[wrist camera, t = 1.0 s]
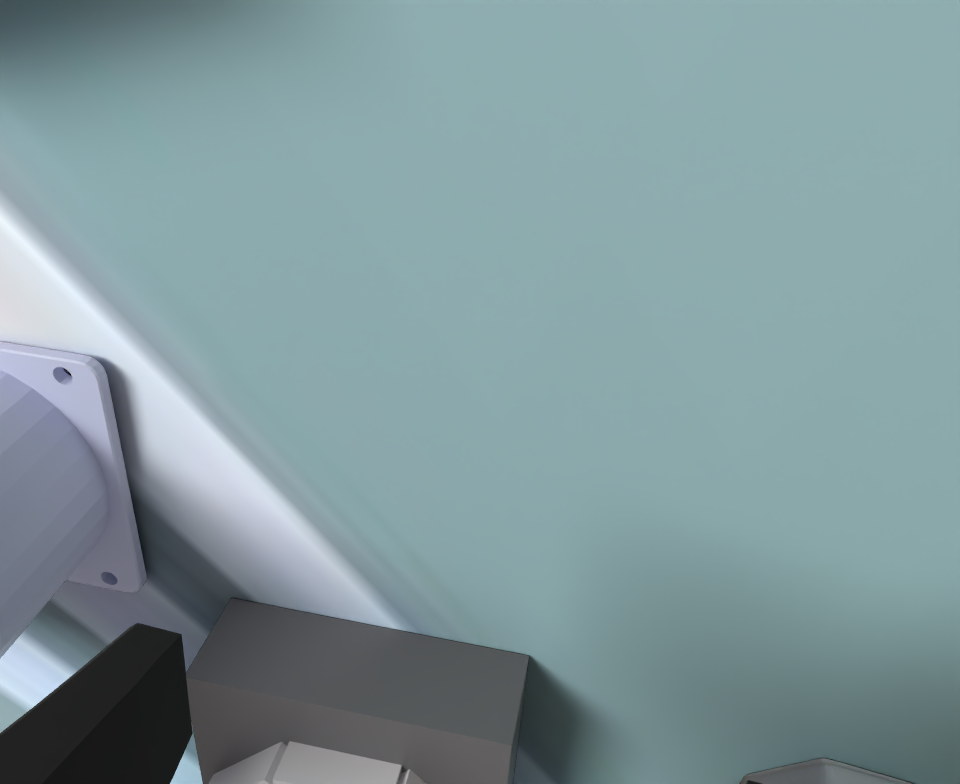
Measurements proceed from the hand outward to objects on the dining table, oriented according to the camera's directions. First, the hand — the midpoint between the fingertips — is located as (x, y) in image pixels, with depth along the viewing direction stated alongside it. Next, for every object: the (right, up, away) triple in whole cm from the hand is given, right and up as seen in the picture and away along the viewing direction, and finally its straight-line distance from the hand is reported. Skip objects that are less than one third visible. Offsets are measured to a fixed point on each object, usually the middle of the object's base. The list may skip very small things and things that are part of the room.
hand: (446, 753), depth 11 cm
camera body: (-3, -7, +18) cm, 20 cm away
